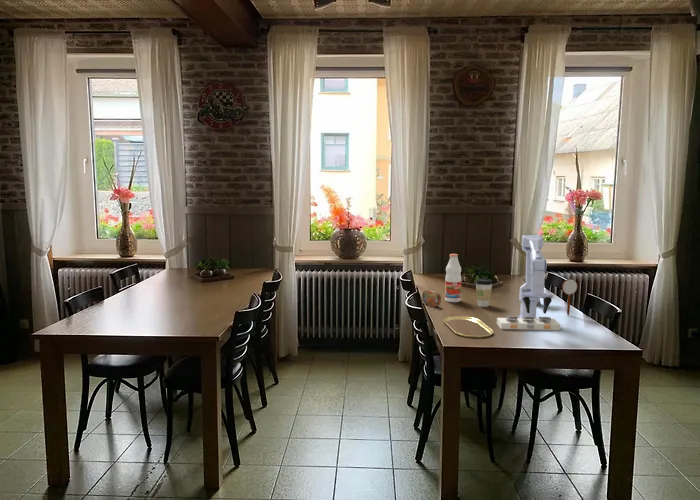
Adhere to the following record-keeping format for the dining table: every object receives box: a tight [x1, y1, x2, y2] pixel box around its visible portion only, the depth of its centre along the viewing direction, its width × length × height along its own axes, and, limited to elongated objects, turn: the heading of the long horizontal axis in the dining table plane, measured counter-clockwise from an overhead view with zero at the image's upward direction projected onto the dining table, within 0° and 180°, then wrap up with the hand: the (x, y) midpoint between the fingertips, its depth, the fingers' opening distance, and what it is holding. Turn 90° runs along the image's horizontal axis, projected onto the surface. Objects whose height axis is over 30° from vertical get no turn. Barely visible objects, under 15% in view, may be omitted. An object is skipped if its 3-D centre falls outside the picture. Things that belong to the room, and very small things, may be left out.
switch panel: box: [496, 317, 561, 331], centre depth 263 cm, size 10×28×4 cm, turn 86°
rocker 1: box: [505, 315, 518, 319], centre depth 263 cm, size 6×4×1 cm, turn 176°
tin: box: [421, 289, 442, 308], centre depth 308 cm, size 15×3×8 cm, turn 27°
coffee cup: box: [474, 278, 494, 308], centre depth 306 cm, size 10×10×15 cm
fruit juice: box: [444, 253, 462, 303], centre depth 317 cm, size 9×9×28 cm
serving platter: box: [443, 315, 494, 339], centre depth 262 cm, size 19×35×2 cm, turn 6°
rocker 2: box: [538, 316, 552, 320], centre depth 262 cm, size 6×4×1 cm, turn 176°
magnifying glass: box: [561, 278, 579, 317], centre depth 283 cm, size 9×2×20 cm, turn 96°
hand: (536, 313), depth 251 cm, fingers open, 7 cm apart
